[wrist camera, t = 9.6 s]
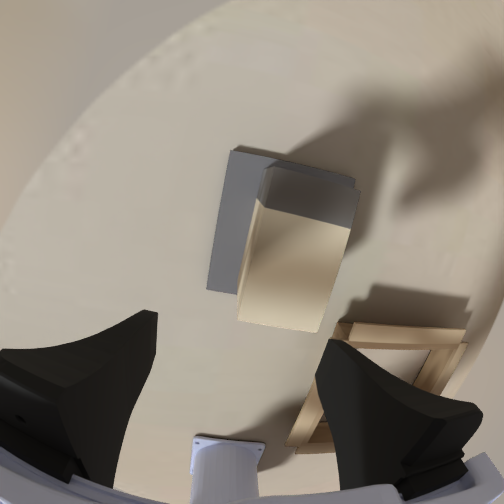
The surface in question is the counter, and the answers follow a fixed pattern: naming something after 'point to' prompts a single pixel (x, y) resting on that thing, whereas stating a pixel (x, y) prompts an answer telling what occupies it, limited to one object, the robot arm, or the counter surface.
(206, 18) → the counter surface
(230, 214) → the mat
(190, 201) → the counter surface
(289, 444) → the square wooden frame
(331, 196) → the box
